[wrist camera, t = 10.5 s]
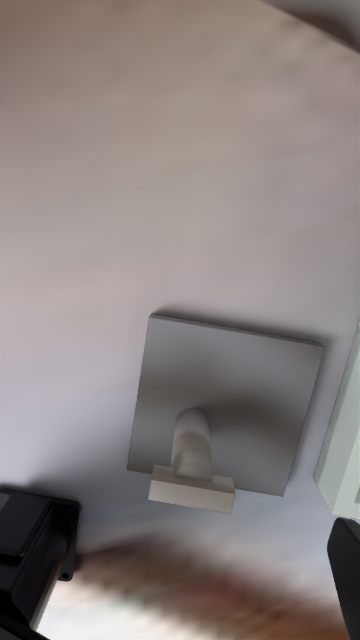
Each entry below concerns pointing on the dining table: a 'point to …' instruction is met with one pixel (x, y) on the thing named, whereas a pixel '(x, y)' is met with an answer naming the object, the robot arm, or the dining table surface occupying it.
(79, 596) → the dining table surface
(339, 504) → the tray
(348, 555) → the robot arm
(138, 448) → the stand
